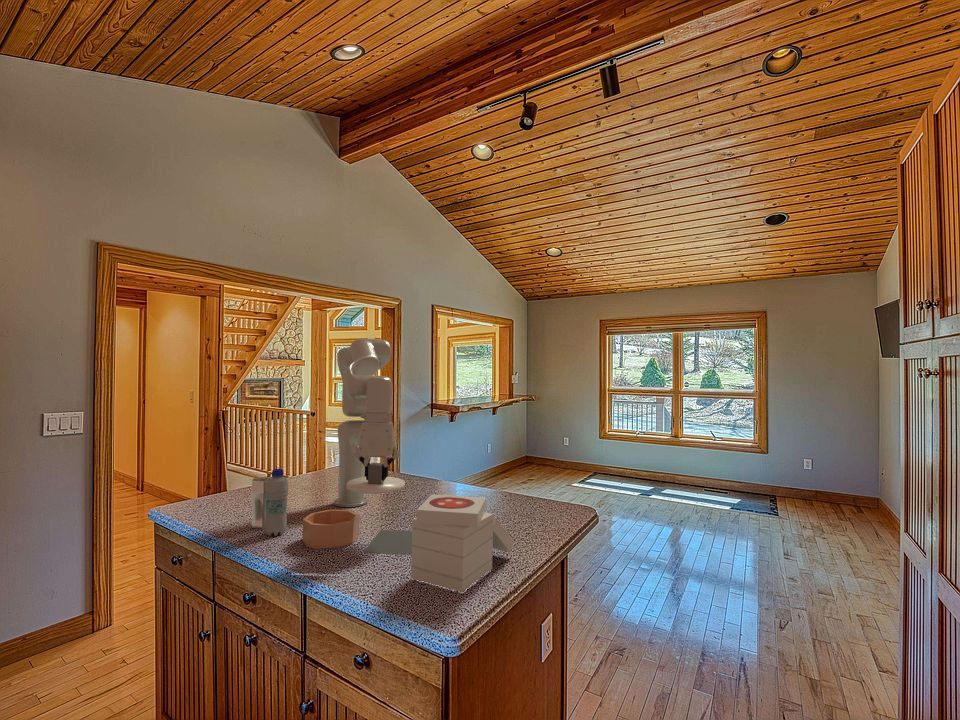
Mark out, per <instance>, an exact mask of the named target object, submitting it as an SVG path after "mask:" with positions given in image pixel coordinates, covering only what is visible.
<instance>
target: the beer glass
mask: <svg viewBox="0 0 960 720" xmlns="http://www.w3.org/2000/svg"><path fill="white" fill-rule="evenodd" d="M271 477H272V476H271ZM271 477H270V476H260V477H255V478H252V479H251V489H250V502H251V508H252V521H251V524H250V525H251V526H250V527H251V528H252V527H253V529H264V527H265V517H266V495H265V493H266V492H265V489H266V483H267V480H268V479H270V478H271Z"/></svg>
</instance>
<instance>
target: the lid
mask: <svg viewBox="0 0 960 720" xmlns="http://www.w3.org/2000/svg"><path fill="white" fill-rule="evenodd" d="M383 465H384V464H383V462H370V465H368V480H366V477H365V476H364V477H362V478H356V479H353V480H350V481H348V482H347V489H348V490H350V491H353V492H357V493H364V494H373V495H374V494H375V495H376V494H377V495H378V494H389V493H394V492H398V491H402V490H403V489H404V488H406V487H405V486H406V482H405V480H404V479H402V478H398V477H394V476H388V477H386V479H385V480H384V481H382V467H383Z"/></svg>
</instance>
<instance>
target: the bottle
mask: <svg viewBox="0 0 960 720" xmlns="http://www.w3.org/2000/svg"><path fill="white" fill-rule="evenodd" d="M288 482H289V481H288V478H287V477H284V469H283V468H274V469H272V471H271V478H270V479H268V480H267V483H266V489H265V492H266V493H265V495H266V517H265V527H264V528H263V529H264V534H266V535H267V536H269V537H271V536H272V535H273V536H274V537H278V534H279V535H280V536H281V535H283V534H284V533H285V532H286V530H287V526H288V522H287V505H288V502H287V501H288V494H289V483H288Z"/></svg>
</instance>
